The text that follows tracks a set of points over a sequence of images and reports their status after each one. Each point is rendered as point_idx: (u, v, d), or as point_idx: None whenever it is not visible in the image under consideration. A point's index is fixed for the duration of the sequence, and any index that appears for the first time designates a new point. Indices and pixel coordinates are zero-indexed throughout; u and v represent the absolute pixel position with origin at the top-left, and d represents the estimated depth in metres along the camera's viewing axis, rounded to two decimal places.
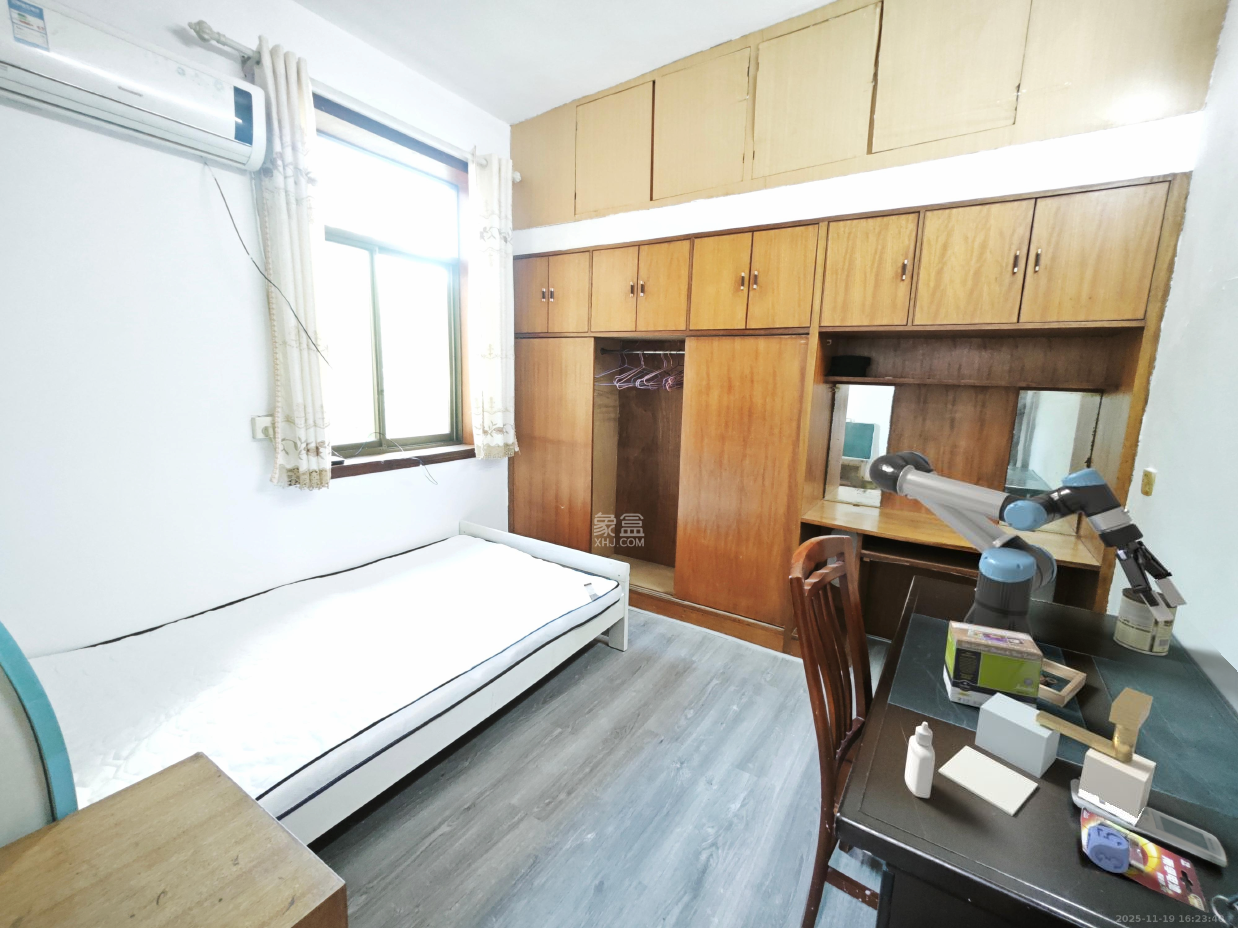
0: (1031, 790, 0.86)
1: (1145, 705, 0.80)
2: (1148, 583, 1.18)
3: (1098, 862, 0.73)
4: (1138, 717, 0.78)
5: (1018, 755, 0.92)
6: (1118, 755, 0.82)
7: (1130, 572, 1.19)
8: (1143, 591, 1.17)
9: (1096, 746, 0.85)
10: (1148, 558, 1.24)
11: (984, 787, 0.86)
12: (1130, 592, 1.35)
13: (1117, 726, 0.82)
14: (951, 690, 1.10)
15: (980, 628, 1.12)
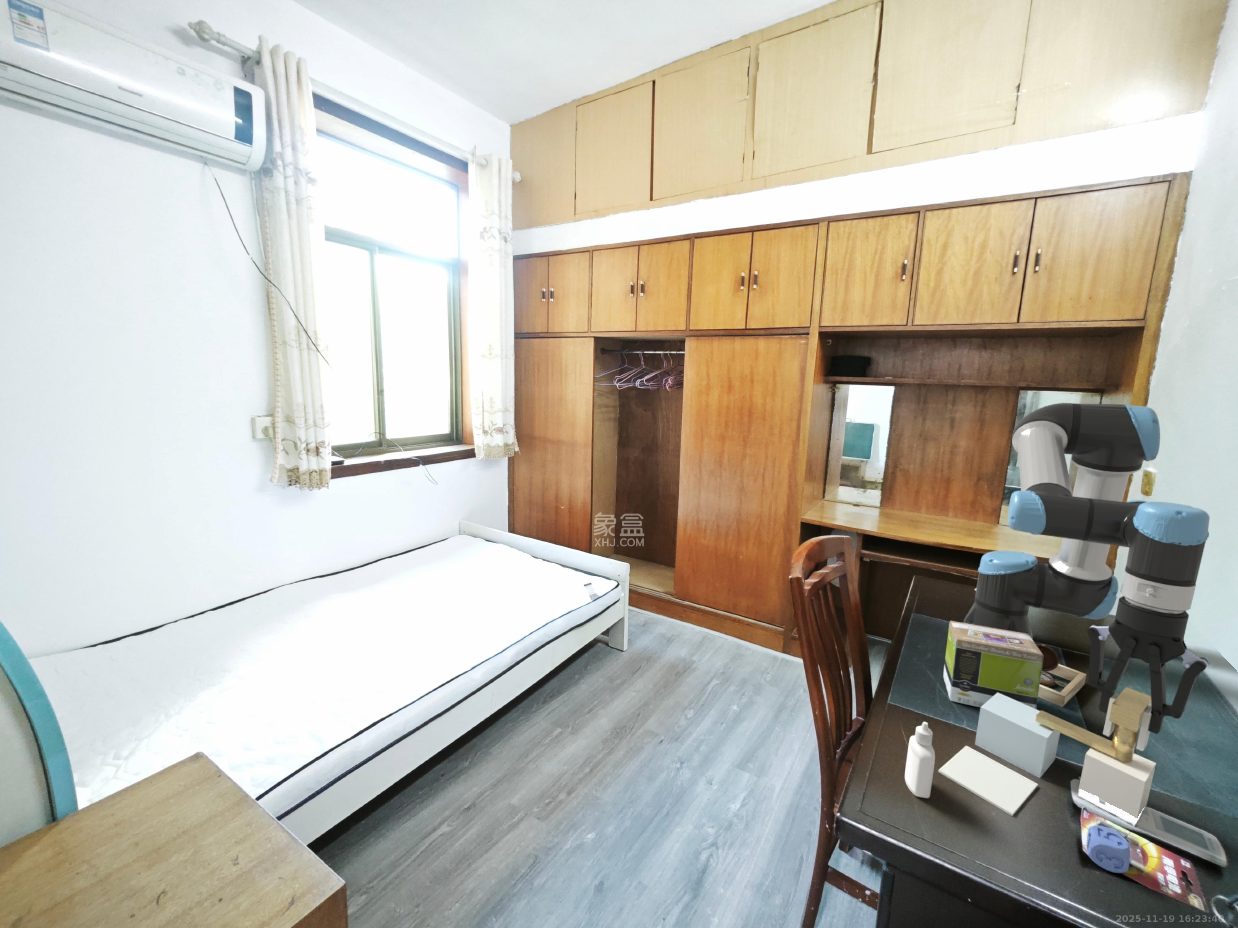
0: (1031, 790, 0.86)
1: (1145, 705, 0.80)
2: (1108, 685, 0.83)
3: (1099, 862, 0.73)
4: (1138, 717, 0.78)
5: (1018, 755, 0.92)
6: (1118, 755, 0.82)
7: None
8: None
9: (1096, 746, 0.85)
10: None
11: (984, 787, 0.86)
12: None
13: (1117, 726, 0.82)
14: (951, 690, 1.10)
15: (980, 628, 1.12)
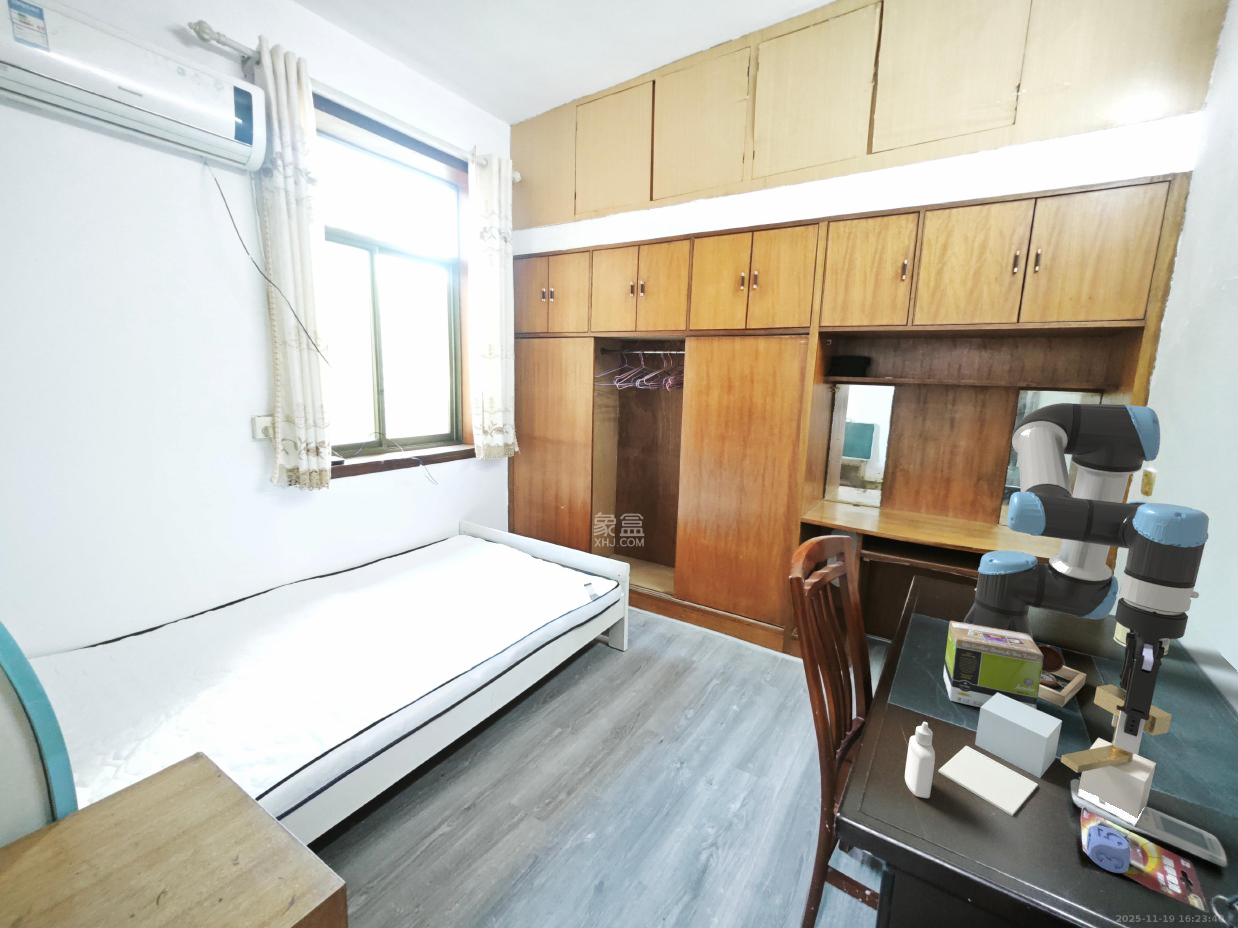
0: (1031, 790, 0.86)
1: None
2: None
3: (1099, 863, 0.73)
4: (1170, 718, 0.78)
5: (1018, 755, 0.92)
6: (1129, 758, 0.82)
7: (1140, 690, 0.76)
8: (1136, 716, 0.77)
9: (1117, 762, 0.81)
10: None
11: (984, 787, 0.86)
12: None
13: None
14: (951, 690, 1.10)
15: (980, 628, 1.12)
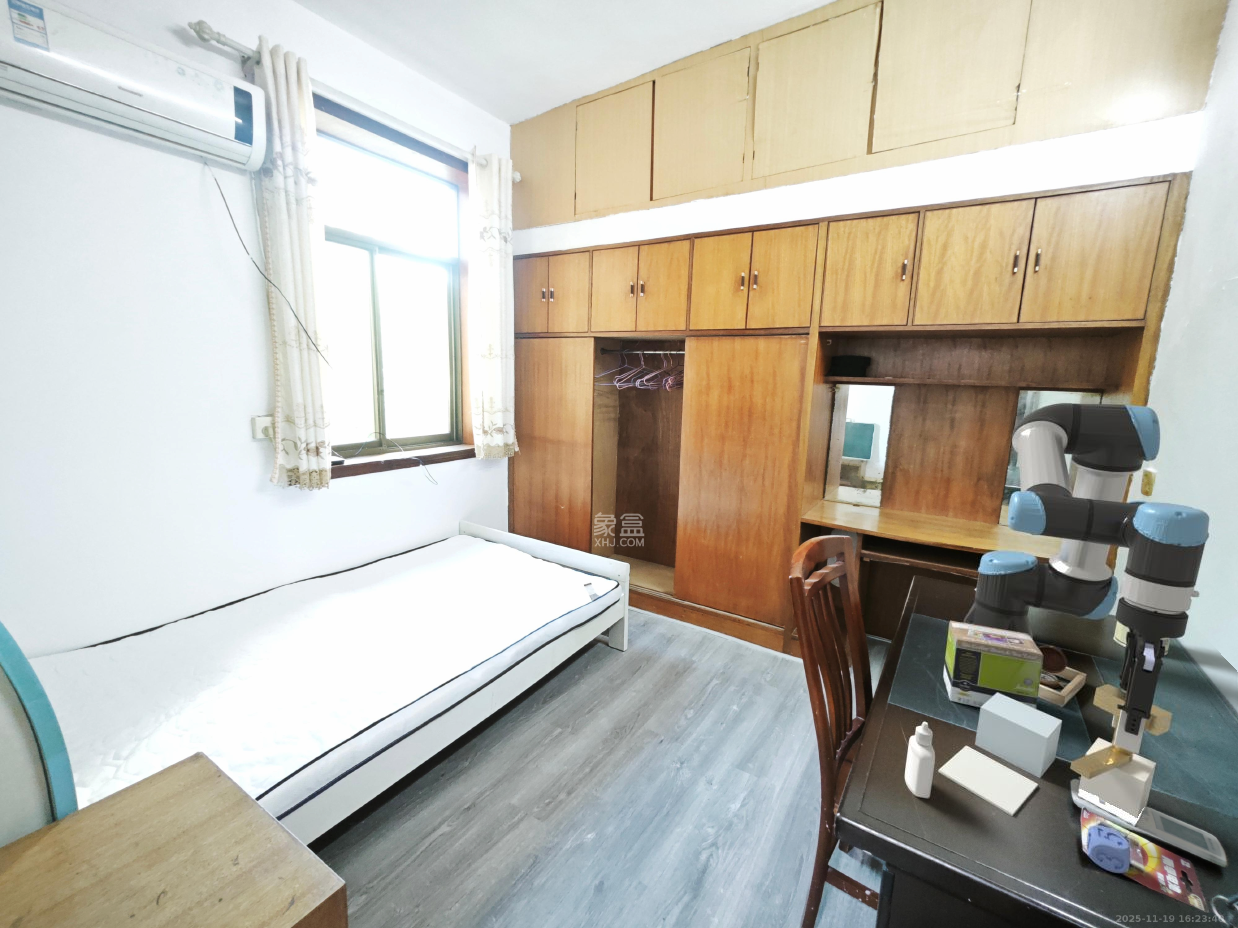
0: (1031, 790, 0.86)
1: None
2: None
3: (1099, 863, 0.73)
4: (1171, 716, 0.78)
5: (1018, 755, 0.92)
6: (1130, 758, 0.82)
7: (1141, 690, 0.76)
8: (1137, 715, 0.77)
9: (1120, 763, 0.81)
10: None
11: (984, 787, 0.86)
12: None
13: None
14: (951, 690, 1.10)
15: (980, 628, 1.12)
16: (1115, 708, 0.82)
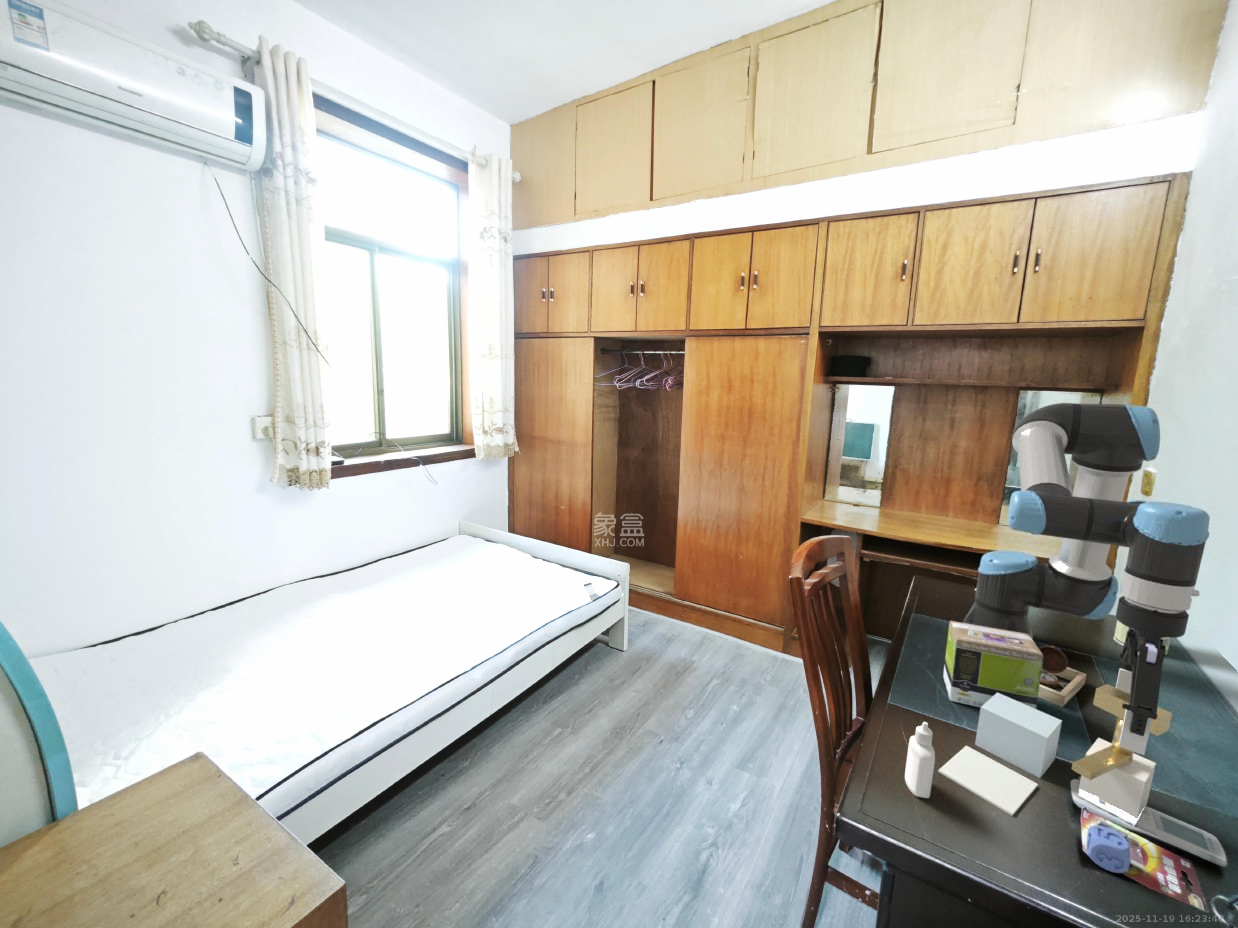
0: (1031, 790, 0.86)
1: None
2: None
3: (1099, 863, 0.73)
4: (1171, 716, 0.78)
5: (1018, 755, 0.92)
6: (1130, 758, 0.82)
7: (1146, 684, 0.74)
8: (1143, 715, 0.74)
9: (1121, 763, 0.81)
10: None
11: (984, 787, 0.86)
12: None
13: None
14: (951, 690, 1.10)
15: (980, 628, 1.12)
16: (1115, 708, 0.82)
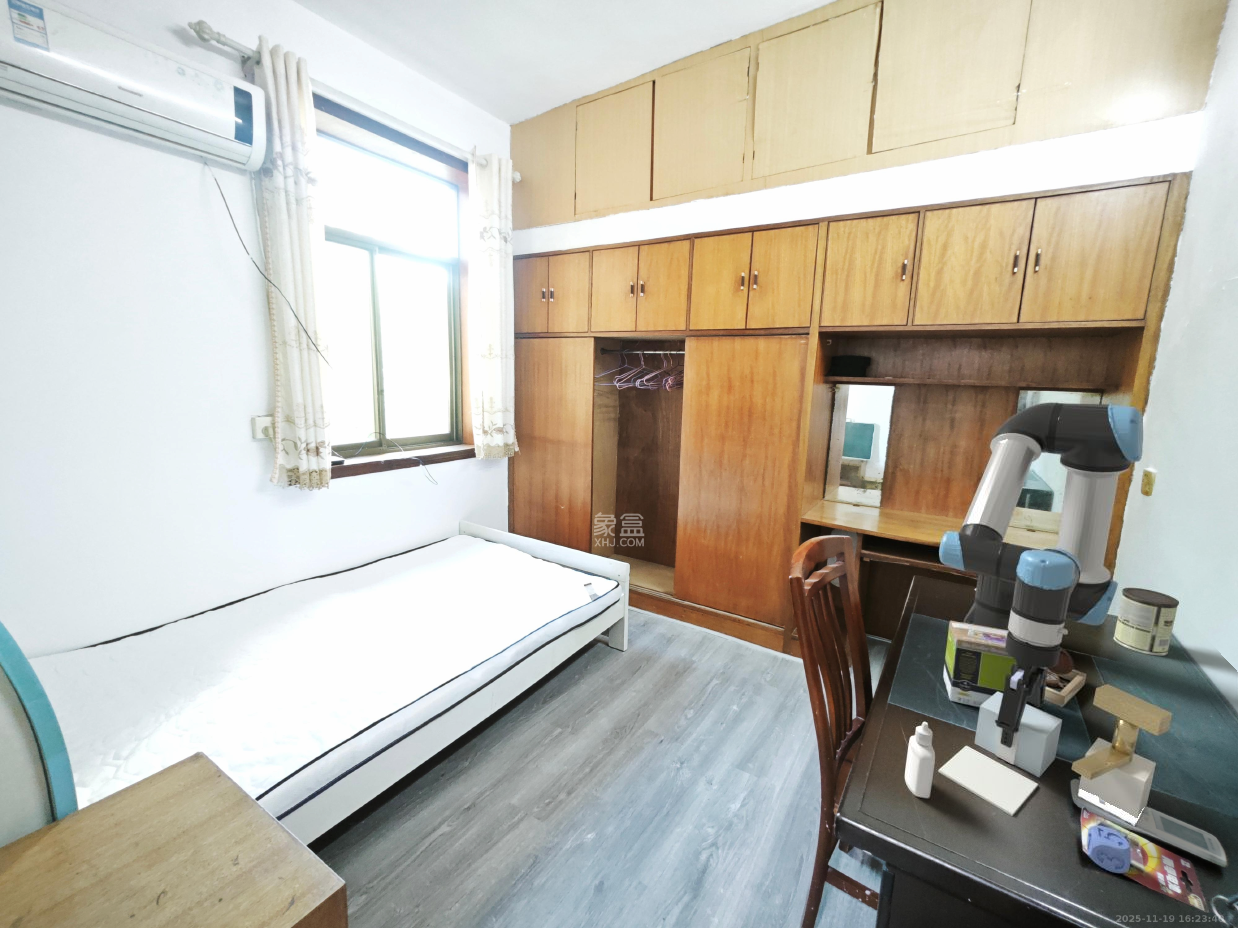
0: (1031, 790, 0.86)
1: (1138, 698, 0.82)
2: (1018, 722, 0.90)
3: (1100, 863, 0.73)
4: (1171, 716, 0.78)
5: (1018, 754, 0.92)
6: (1130, 758, 0.82)
7: (1008, 706, 0.90)
8: None
9: (1121, 763, 0.81)
10: (1038, 684, 0.93)
11: (984, 787, 0.86)
12: (1130, 592, 1.35)
13: (1130, 732, 0.81)
14: (951, 690, 1.10)
15: (980, 628, 1.12)
16: (1115, 708, 0.82)
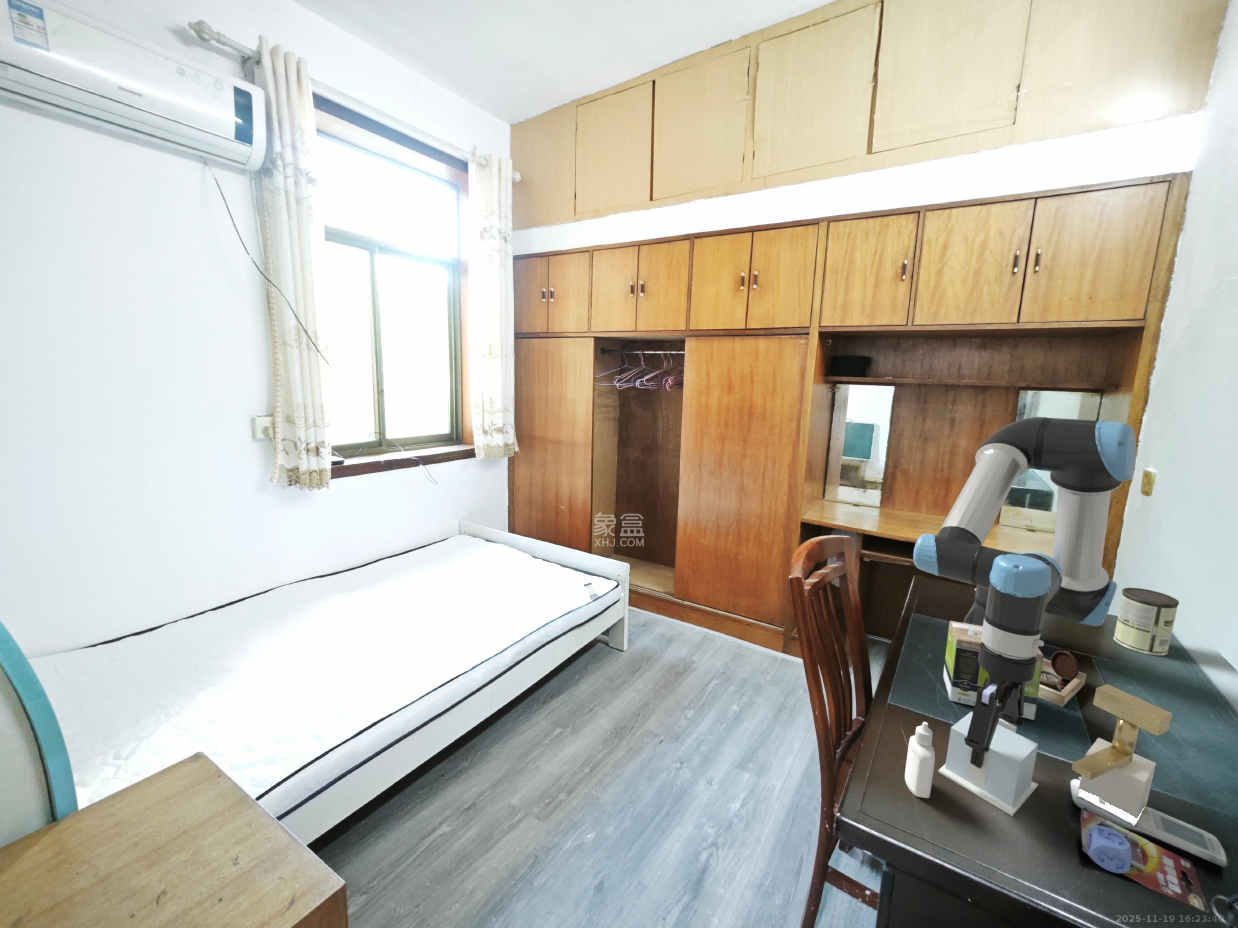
0: (1031, 790, 0.86)
1: (1138, 698, 0.82)
2: (989, 741, 0.83)
3: (1100, 863, 0.73)
4: (1171, 716, 0.78)
5: (990, 781, 0.85)
6: (1130, 758, 0.82)
7: (978, 722, 0.82)
8: None
9: (1121, 763, 0.81)
10: (1014, 698, 0.86)
11: None
12: (1130, 592, 1.35)
13: (1130, 732, 0.81)
14: (951, 690, 1.10)
15: (980, 628, 1.12)
16: (1115, 708, 0.82)
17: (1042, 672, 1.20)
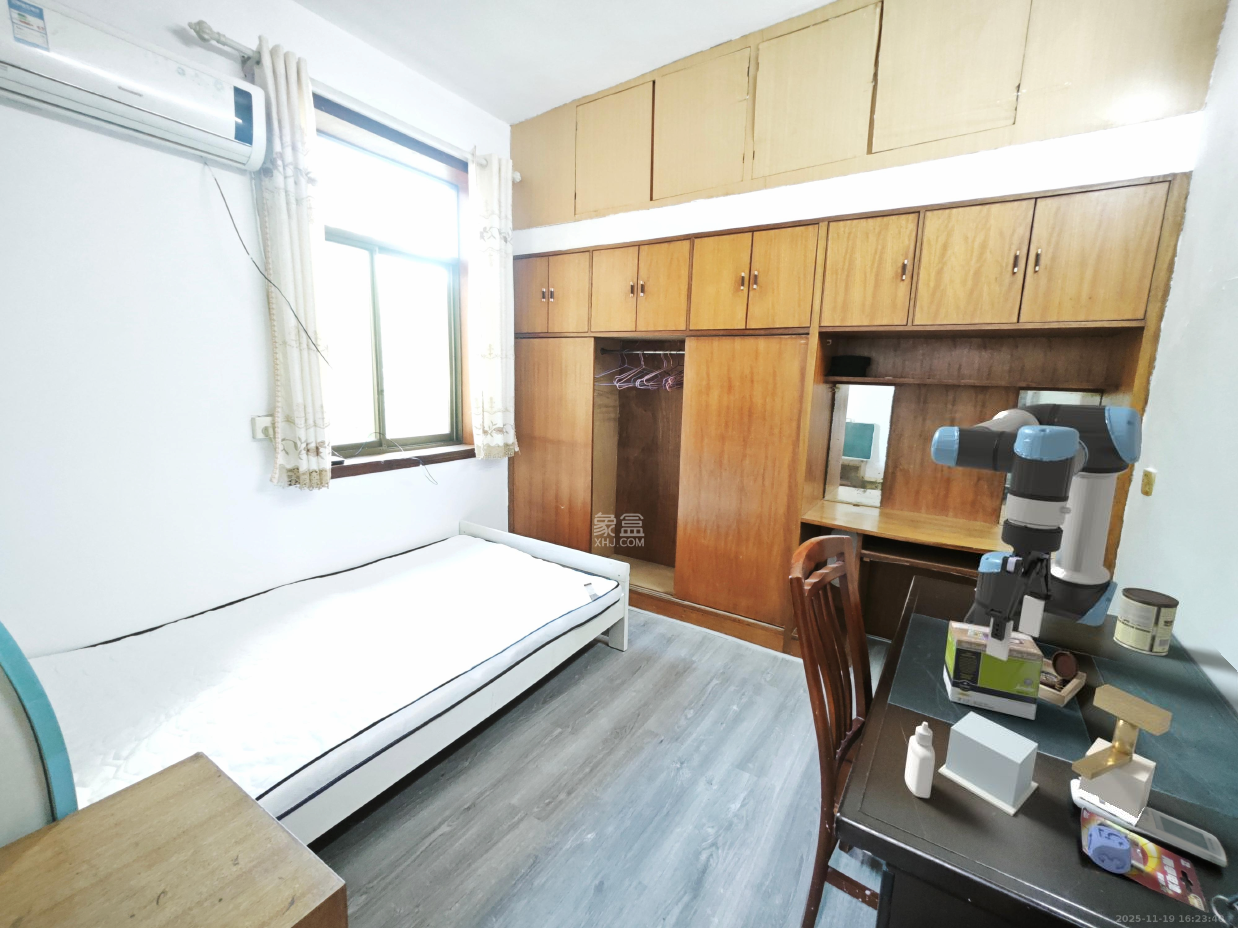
0: (1031, 790, 0.86)
1: (1138, 698, 0.82)
2: (1012, 611, 0.79)
3: (1100, 863, 0.73)
4: (1171, 716, 0.78)
5: (990, 781, 0.85)
6: (1130, 758, 0.82)
7: (1002, 590, 0.79)
8: (997, 619, 0.79)
9: (1121, 763, 0.81)
10: (1040, 574, 0.84)
11: None
12: (1130, 592, 1.35)
13: (1130, 732, 0.81)
14: (951, 690, 1.10)
15: (980, 628, 1.12)
16: (1115, 708, 0.82)
17: (1042, 672, 1.20)
